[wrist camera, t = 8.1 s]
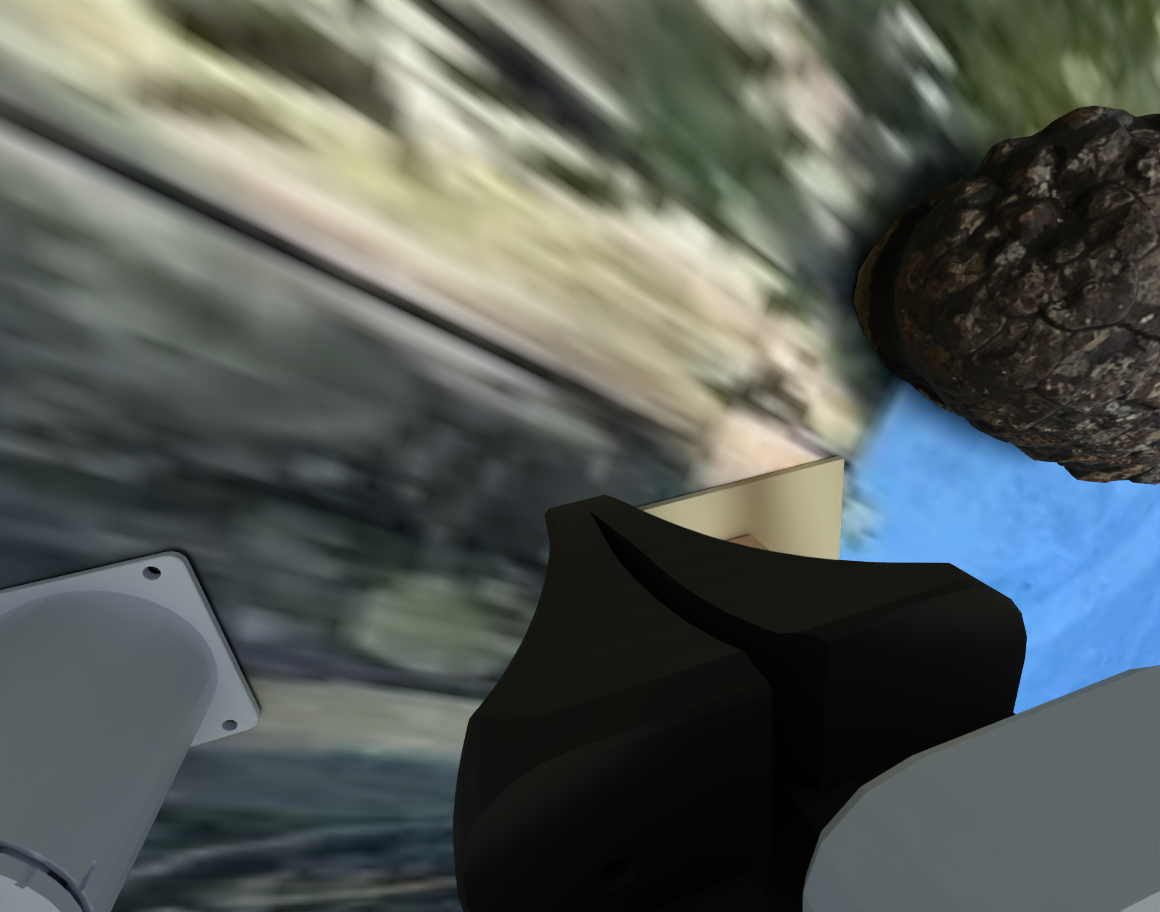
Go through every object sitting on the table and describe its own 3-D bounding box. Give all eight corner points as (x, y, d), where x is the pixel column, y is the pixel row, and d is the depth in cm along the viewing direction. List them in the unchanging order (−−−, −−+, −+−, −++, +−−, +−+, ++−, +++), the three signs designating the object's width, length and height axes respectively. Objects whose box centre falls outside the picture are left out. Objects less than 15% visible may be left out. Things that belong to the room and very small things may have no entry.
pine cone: (1026, 478, 29) (1299, 576, 20) (788, 343, 23) (1034, 398, 14) (1148, 297, 27) (1512, 316, 18) (925, 91, 21) (1322, -44, 11)
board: (645, 748, 28) (647, 755, 28) (615, 512, 23) (618, 516, 23) (827, 684, 30) (832, 690, 30) (837, 455, 25) (844, 458, 25)
